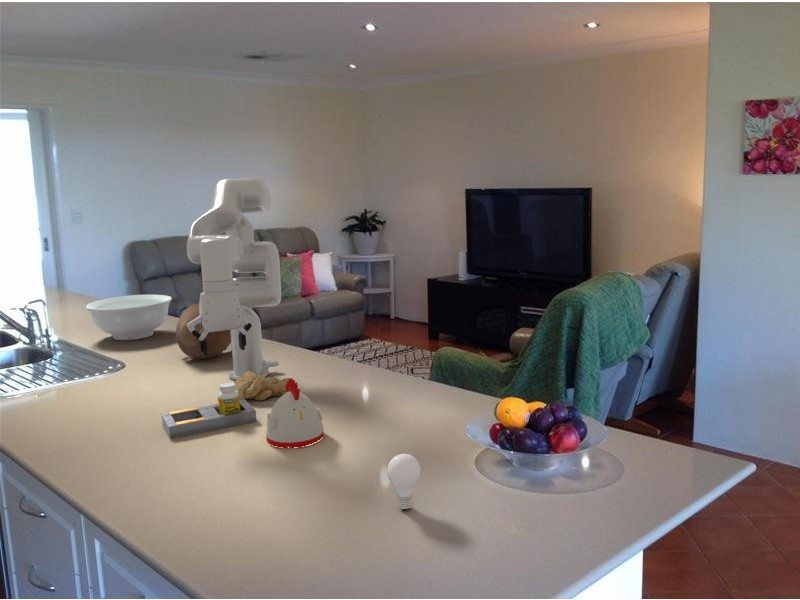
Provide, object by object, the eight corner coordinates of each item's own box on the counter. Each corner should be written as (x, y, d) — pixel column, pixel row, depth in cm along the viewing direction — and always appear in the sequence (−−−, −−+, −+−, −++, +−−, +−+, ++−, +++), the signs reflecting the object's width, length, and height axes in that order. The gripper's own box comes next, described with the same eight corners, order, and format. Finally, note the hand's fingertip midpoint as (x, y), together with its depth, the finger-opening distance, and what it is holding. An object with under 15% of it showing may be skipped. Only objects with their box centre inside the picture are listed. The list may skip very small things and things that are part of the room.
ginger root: (214, 394, 210) (219, 366, 210) (260, 393, 222) (264, 367, 222) (247, 407, 199) (252, 378, 199) (293, 406, 211) (298, 378, 211)
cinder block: (245, 409, 200) (244, 398, 199) (256, 421, 190) (255, 409, 190) (162, 425, 190) (161, 413, 190) (169, 438, 181) (168, 426, 180)
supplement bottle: (236, 414, 196) (233, 380, 194) (243, 419, 192) (241, 385, 190) (217, 419, 193) (214, 384, 192) (224, 424, 189) (221, 389, 187)
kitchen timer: (277, 453, 169) (272, 391, 166) (259, 435, 181) (255, 377, 178) (332, 441, 175) (329, 381, 172) (312, 424, 187) (308, 367, 184)
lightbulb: (387, 502, 142) (385, 449, 140) (420, 500, 143) (418, 447, 140) (390, 518, 136) (387, 462, 134) (423, 515, 136) (422, 460, 134)
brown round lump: (195, 368, 243) (258, 361, 268) (206, 312, 240) (269, 310, 265) (156, 350, 254) (221, 345, 279) (167, 295, 251) (231, 295, 276)
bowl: (103, 329, 309) (99, 295, 306) (181, 325, 312) (178, 291, 310) (79, 348, 277) (74, 310, 275) (166, 343, 281) (162, 306, 278)
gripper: (247, 281, 193) (252, 344, 196) (181, 288, 186) (187, 353, 189) (255, 285, 187) (260, 349, 190) (186, 292, 179) (192, 359, 182)
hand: (223, 351), depth 189 cm, fingers open, 9 cm apart
